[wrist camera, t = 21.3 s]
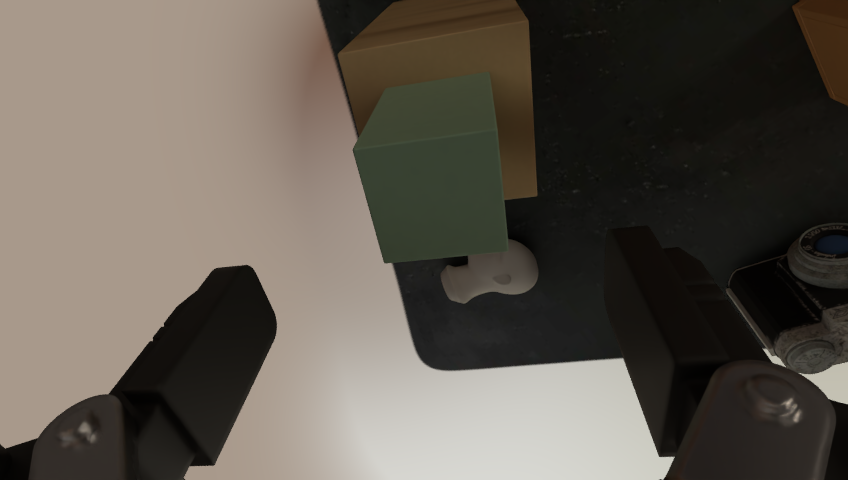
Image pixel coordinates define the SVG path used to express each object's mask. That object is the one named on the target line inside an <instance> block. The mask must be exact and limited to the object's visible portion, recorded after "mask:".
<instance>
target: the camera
mask: <svg viewBox="0 0 848 480" xmlns="http://www.w3.org/2000/svg"><path fill="white" fill-rule="evenodd" d="M728 286H729V288H727V289H726V291H727V293H728V295H729V296H730V298H731V299H732V300H733V302H734V303H735V305H736V306H737V307H738V309H739V310H740V312H741V313H742V315H743V316H744V317H745V319H746V320H747V322H748V323H749V324H750V326H751V327H752V329H753V330H754V331H755V333H756V334H757V336H758V337H759V338H760V340H761V341H762V343H763V344H764V345H765V347H766V348H767V350H768V351H769V352H770V354H771V355H772V356H775V355H776V356H777V357H779V358H780V359H781V361H782V362H783V363H784V365H785V366H786V367H787V368H788V369H791V370H793V371H795V372H797V373H803V374H815V373H819V372H822V371H824V370H826V369H828V368H830V367H831V366H832V365H836V364H840V363H845V362H848V224H847V223H828V224H822V225H818V226H815V227H813V228H811V229H809V230H807V231H805V232H804V233H803V234H802V235H801V236H800V237H799V238H798V239H797V240H796V241H794V242H793V243H792V244H791V246H790V247H789V249H788V251H787V253H786V254H785V255H782V256H779V257H776V258H772V259H769V260H766V261H762V262H759V263H756V264H753V265H750V266H746V267H743V268H740V269H737V270H735V271H734V272H733V273H732V275H731V277H730V280H729V284H728Z"/></svg>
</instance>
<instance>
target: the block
mask: <svg viewBox="0 0 848 480" xmlns="http://www.w3.org/2000/svg"><path fill="white" fill-rule="evenodd" d="M353 153H354V156H355V160H356V164H357V167H358V171H359V174H360V178H361V181H362V185H363V189H364V192H365V196H366V200H367V203H368V206H369V210H370V214H371V217H372V221H373V225H374V228H375V232H376V236H377V239H378V243H379V246H380V250H381V253H382V257H383V260H384V263H395V262H405V261H415V260H426V259H436V258H447V257H457V256H467V255H478V254H488V253H499V252H507V251H508V250H509V246H508V235H507V225H506V214H505V204H504V193H503V183H502V172H501V161H500V151H499V140H498V130H497V123H496V115H495V108H494V101H493V94H492V86H491V79H490V73H489V72H483V73H477V74H471V75H465V76H458V77H452V78H446V79H440V80H434V81H427V82H421V83H415V84H409V85H402V86H396V87H390V88H386V89H385V90H384V92H383V94H382V96H381V98H380V99H379V101H378V103H377V105H376V107H375V109H374V111H373V112H372V114H371V116H370V118H369V120H368V122H367V124H366V125H365V127H364V129H363V131H362V133H361V135H360V137H359V138H358V140H357V142H356V144H355V146H354V148H353Z"/></svg>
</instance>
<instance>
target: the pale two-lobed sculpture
mask: <svg viewBox="0 0 848 480" xmlns="http://www.w3.org/2000/svg"><path fill="white" fill-rule="evenodd" d="M508 246H509V250H508V251H507V252H499V253H488V254H478V255H468V264H467V265H463V266H459V267H453V266H450V265H447V266H446V268H445V269H444V270H443V271H442V272H441V280H442V284H443V287H444V290H445V292H446V294H447V296H448V298H449V299H450V300H452V301H456V302H460V303H464V304H465V303H467V302H468V301H469V300H470V299H472V298H473V297H475V296H477V295H480V294H482V293H486V292H491V291H495V292H500V293H504V294H520V293H524V292H526V291H528V290H530V289H531V288H532V287H533V286H534V285H535V283H536V281H537V278H538V266H537V262H536V259H535V257H534V255H533V253H532V252H531V251H530V250H529V249H528V248H527V247H525V246H524V245H523V244H521V243H519V242H517V241H514V240H511V239H508Z"/></svg>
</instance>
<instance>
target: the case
mask: <svg viewBox="0 0 848 480" xmlns="http://www.w3.org/2000/svg"><path fill="white" fill-rule="evenodd" d="M792 8H793V11H794V13H795V16H796V18H797V20H798V23H799V25H800V27H801V30H802V32H803V34H804V37H805V39H806V42H807V44H808V46H809V49H810V51H811V53H812V56H813V58H814V60H815V63H816V65H817V68H818V70H819V72H820V75H821V77H822V79H823V82H824V84H825V87H826V89H827V91H828V94H829V96H830V98H832V99H834V100H836V101H838V102H841V103H843V104H845V105H847V106H848V0H801V1H799V2H798V3H796V4H795V5H793V6H792Z"/></svg>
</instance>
